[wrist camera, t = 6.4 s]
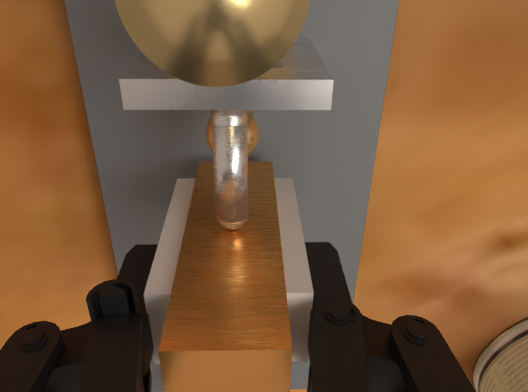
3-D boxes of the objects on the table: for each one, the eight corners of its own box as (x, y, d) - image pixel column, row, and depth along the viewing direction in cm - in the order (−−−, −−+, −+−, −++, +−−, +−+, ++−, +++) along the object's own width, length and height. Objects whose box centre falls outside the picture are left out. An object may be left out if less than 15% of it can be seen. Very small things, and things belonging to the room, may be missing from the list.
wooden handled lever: (157, 36, 16) (54, 150, 7) (308, 37, 16) (375, 150, 8) (184, 306, 22) (146, 528, 14) (292, 304, 22) (319, 523, 14)
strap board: (52, -147, 15) (34, -154, 14) (406, -140, 15) (421, -147, 14) (145, 370, 28) (140, 391, 27) (335, 367, 28) (340, 388, 27)
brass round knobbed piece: (151, -132, 14) (-5, -241, 5) (309, -129, 14) (404, -230, 6) (174, 121, 18) (108, 287, 10) (296, 121, 18) (339, 285, 10)
